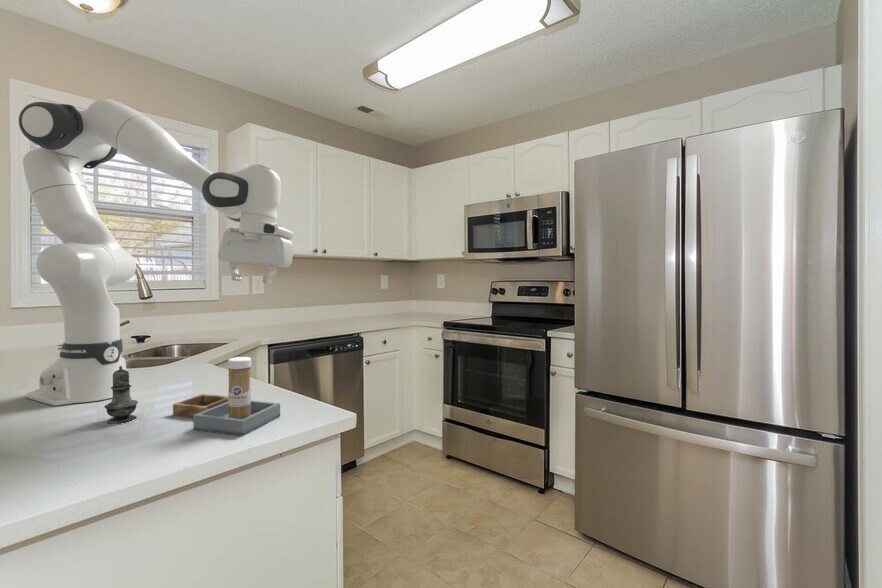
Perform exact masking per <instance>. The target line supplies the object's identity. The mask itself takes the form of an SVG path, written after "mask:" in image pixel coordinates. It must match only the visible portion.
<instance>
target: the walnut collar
mask: <svg viewBox="0 0 882 588" xmlns="http://www.w3.org/2000/svg"><path fill="white" fill-rule="evenodd" d="M226 402H228V396H227V395H219V394H218V395H217V394H208V393H202V394H200V395H196V396H193V397H190V398H187V399H185V400H182V401H179V402H176V403H173V404H172V415H173V416H178V417H187V418H193V419H194V417H193V415H195V414H198V413H200V412H203V411H205V410H208V409H211V408H213V407H216V406H218V405H221V404H223V403H226ZM203 405H206V406H203Z"/></svg>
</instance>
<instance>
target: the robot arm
mask: <svg viewBox="0 0 882 588" xmlns="http://www.w3.org/2000/svg"><path fill="white" fill-rule="evenodd" d="M18 126H19V129H20V131H21V133H22V134H23V135H24V136H25V138H27V140H28V141H30V142H32V143H33V144H35V145H37V146H38V147H39V148H33V149H31V150H29V151H28V152H27V153H25V154H24V156H23V159H22V166H23V172H24V176H25V181H26V184H27V187H28V190H29V192H30V193H29V194H30V195H31V198H32V199H33V202H34V204H35V207H36V210H37V211H38V215H39V216H40V219H41V220H42V223H43V225H44V226H45V228H46V229H47V230H48V231H49V232H51V233H52V234H54V235H55V236H56V237H57V238H58V239H59V240H60V241H61V242H62V243H57V244H53V245H50V246H47V247H46V248H44V249H43V250H41V252H40V253H39V255H38V256H37V258H36V264H35V266H36V270H37V273H38V275H39V277H40V278H41V279H43V280H44V281H45V282H46V283H47V284H48V285H49V286H51V288H52V289H53V291H54V293H55V294H56V296H57V299H58V301H59V304H60V307H61V310H62V315H63V327H64V328H63V329H64V342H63V343H62V344H58V345H57V347H59V348H57V350H59V351H60V353H59V358H58V359H56V360H55V361H54V362H53V363H52V364H50V365H49V366H48V367H47V368H45V369H44V370H43V371H42V372H41V373H40V375H39V384H38V385H39V387H38V389H35V390H33V391H30V392H28V393H26V396H25V397H26V398H27V399H29V400H34V401H37V402H40V403H44V404H47V405H50V406H62V405H63V406H64V405H71V404H80V403H89V402H96V401H102V400H108V399H112V398H113V390H112V389H111V387H113V373H114V372H115V371H118V370H119V367H120V366H122V367H123V368H122V369H123V370H126V371H128V370H127V365H126V359H125V358H124V357H123V356H122V353H123V351H124V349H123V348H124V343H123V339H122V338H121V316H120V315H121V313H120V309H119V308H118V306H116V305H115V304H114V302H113V301H112V300H111V299H112V298H110V295H109V292H108V289H107V287H114V286H117V285H120V284H123V283H125V282H128V281H130V280H131V279H132V278H133V277H134V275H135V273H136V270H137V263H136V259H135V257H133V255H132V254H131V253H130V252H129V251H127V250H125V249H124V247H122V246H121V244H119V243H120V242H119V241H117V239H116V238H115V236H114V235H113V234H112V233H111V231H110V230H109V229H108V227H107V226H106V224H105V223H104V221H103V220H102V218H101V216H100V214H99V212H98V210H97V207H96V205H95V202H94V201H93V198H92V196H91V193H90V191H89V189H88V186H87V184H86V181H85V179H84V176H83V171H82V170H83V169H88V170H90V169H91V170H92V169H94V168H96V167H98V166H99V165H102V164H104V163H107V162H109V161H111V160H113V158H114V157H115V156H116V155H117V153H118V152H119V153H121V154H123V155H125V156H126V157H127V158H130V159H131V160H133V161H135V162H137V163H139V164H142V165H143V166H146V167H148V168H149V169H153V170H155V171H159V172H161V173H164V174H165V175H168V176H170V177H172V178H176V179H177V180H179V181H181V182H184V183H185V184H187V185H189V186H191V187H192V188H194V189H195V190H197V191H199V192H200V193H201V194H202V197H203V199H204V201H205V202H206V203H207V204H208V205H209V206H210V207H212V208H213V209H215V210H217V211H218V212H220V213H221V214H223V215H224V216H226V217H227V218H228V219H229V220H231V221H233V222H236V223H239V227H235V228H234V227H229V228H228V229H226V230H225V231H224V232H223V235H222V239H221V241H220V244H219V248H218V252H217V253H218V254H217V258H218V261H219V262H222V263H227V264H229V265H228V268H229V269H230V270H229V271H230V272H231V281H234V282H241V281H242V276H243V275H242V274H240V273H239V268H240V265H249V266H250V265H253V266H262V267H263V266H264V267H265V266H266V267H267V270H268V272H267V274H266V275H262V281H261V282H262V284H266V285H271V284H272V283H273V278H274V276H275V275H276V274H277V273H278V267H279V268H290V266H291V265H292V263H293V258H294V257H293V255H294V244H293V241H292V240H293V239H294V232H293V231H291V230H289V229H286V228H284V227H282V226H281V225H278V220H279V219H278V210H279V208H280V205H281V196H282V180H281V178H280V176H279V175H278V173H277V172H276V171H275V170H273V169H271V168H269V167H267V166H264V165H261V164H250V165H249V166H247V167H246V168H243V169H240V170H239V169H238V170H235V171H228V172H227V171H226V172H223V171H218V172H212V171H211V170H209V169H207V168H206V167H205V166H203V165H202V164H200V163H199V162H198V161H197V160H196V159H195V158H193V157H192V156H191V154H189V152H187V151H186V149H184V147H182V145H181V144H179V142H178V141H177V140H176V139H175V138H174V137H173V136H172V135H170V133H168V131H166V130H165V129H164V128H163V127H162V126H160V125H159V124H158V123H156V122H155V121H153V120H152V119H151V118H150V117H148V116H146V115H144V113H142V112H139V111H138V110H136V109H134V108H132V107H130V106H129V105H126V104H123V103H121V102H119V101H117V100H114V99H111V98H99V99H97V100H95V101H93V102H91V104H90V105H89V106H88V108H87V109H85V110H78V109H77V108H76V107H75V106H74V105H73V104H72V105H71V104H65V103H64V104H63V103H55V102H46V101H35V102H31V103H28V104H26V105H25V106H24V107H23V108H22V110H21V111H20V113H19V116H18ZM129 385H131V386H132V383H131V381H129Z"/></svg>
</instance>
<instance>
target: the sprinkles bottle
mask: <svg viewBox="0 0 882 588" xmlns="http://www.w3.org/2000/svg"><path fill="white" fill-rule="evenodd" d="M251 367H252V358H251V357H249V356H235V357H231V358H228V360H227V368H228V369H227V370H228V392H227V394H228V405H229V418H234V419H244V418H247V417H249V416H251V414H250V412H251V408H250V404H251V400H252V399H251V398H252V396H251V395H252V394H251V389H252V388H251V387H252V386H251V385H252V384H251V383H252V381H251Z"/></svg>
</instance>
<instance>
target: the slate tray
mask: <svg viewBox="0 0 882 588" xmlns="http://www.w3.org/2000/svg"><path fill="white" fill-rule="evenodd" d="M250 408H251V412H250V414H251V416H249V417H247V418H244V419H234V418H229V405H228V402H226V403H223V404H221V405H218V406H216V407H213V408H211V409H208V410H205V411H203V412H200V413H198V414H195V415H193V417H194V418H193V430H195V431H203V432H209V431H210V432H211V433H216V432H218V433H217V434H224V433H225V435H226V434H227V435H232V434H235V435H234V436H239V435H244V436H246V435H248V434H250V433H252V432H253V430H254V431H256V430H257V429H260V427H263V426H265V425H267V424H269V423H271V422H272V421H274V420H277V419H279V418H280V417H281V403H279V402H269V401H262V400H253V399H251V404H250ZM279 416H280V417H279ZM270 421H271V422H270ZM268 422H269V423H268ZM266 423H267V424H266ZM264 424H265V425H264ZM251 431H252V432H251ZM249 432H250V433H249ZM247 433H248V434H247ZM245 434H246V435H245Z"/></svg>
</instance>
